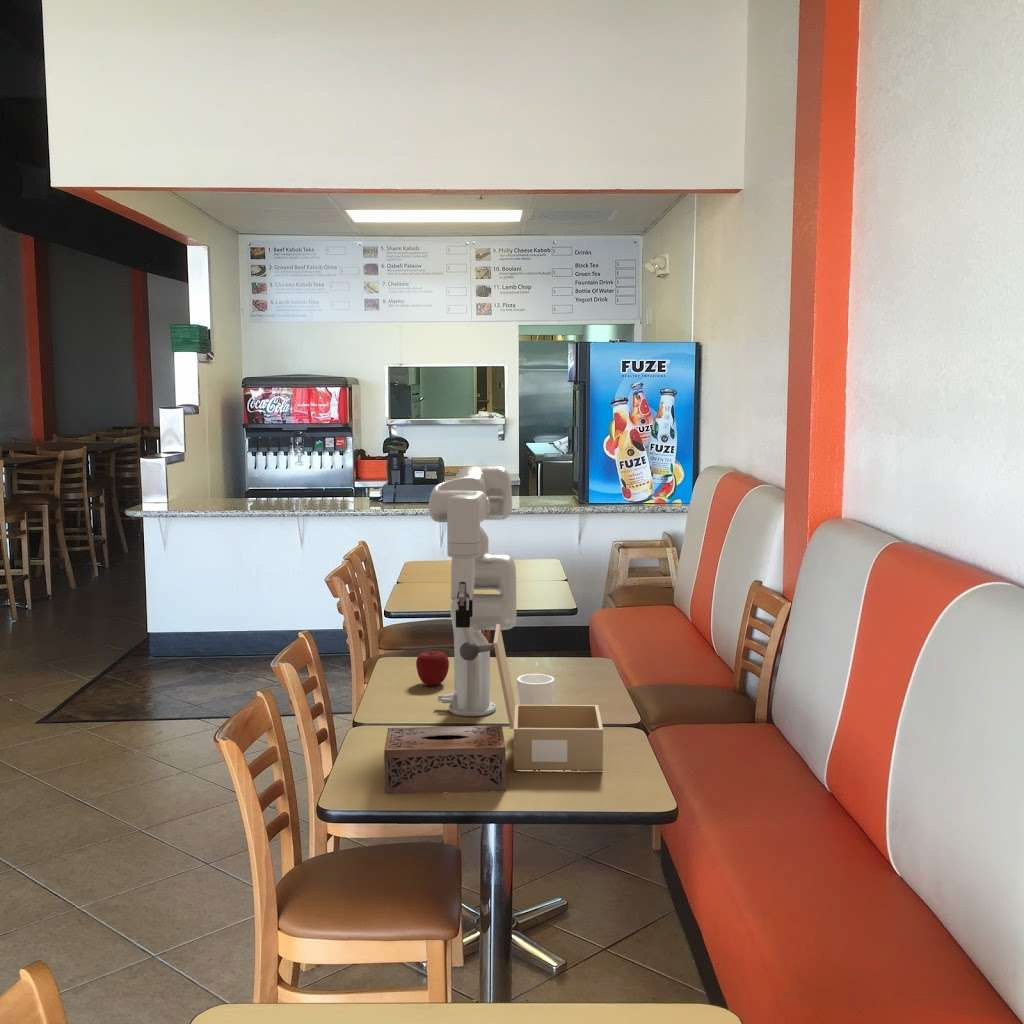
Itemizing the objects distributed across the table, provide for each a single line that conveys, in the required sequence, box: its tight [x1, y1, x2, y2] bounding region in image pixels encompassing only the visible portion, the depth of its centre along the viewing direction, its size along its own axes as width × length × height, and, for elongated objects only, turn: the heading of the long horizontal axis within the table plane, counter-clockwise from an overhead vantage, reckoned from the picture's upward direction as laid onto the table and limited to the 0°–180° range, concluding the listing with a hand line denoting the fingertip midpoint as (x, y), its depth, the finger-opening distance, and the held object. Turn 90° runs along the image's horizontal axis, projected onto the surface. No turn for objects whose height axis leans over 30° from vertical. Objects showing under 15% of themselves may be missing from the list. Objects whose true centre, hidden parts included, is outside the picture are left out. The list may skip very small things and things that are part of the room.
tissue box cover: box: [383, 725, 507, 795], centre depth 224 cm, size 26×14×10 cm, turn 94°
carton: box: [513, 704, 604, 772], centre depth 237 cm, size 20×18×10 cm
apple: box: [415, 650, 450, 687], centre depth 298 cm, size 10×10×10 cm
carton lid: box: [460, 624, 516, 730], centre depth 236 cm, size 20×18×10 cm
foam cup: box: [516, 673, 555, 705], centre depth 258 cm, size 10×9×13 cm
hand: (464, 621), depth 235 cm, fingers open, 9 cm apart
